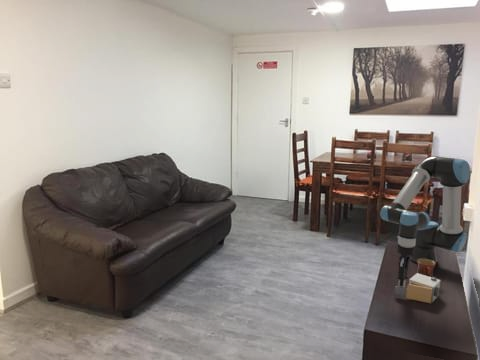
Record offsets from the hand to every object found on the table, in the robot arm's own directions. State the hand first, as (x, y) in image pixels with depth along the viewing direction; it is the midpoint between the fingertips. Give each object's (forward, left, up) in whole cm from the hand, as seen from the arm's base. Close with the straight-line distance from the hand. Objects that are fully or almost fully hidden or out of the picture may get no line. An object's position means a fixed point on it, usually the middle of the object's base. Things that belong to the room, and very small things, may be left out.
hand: (400, 291), depth 189 cm
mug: (-25, +3, -3) cm, 26 cm away
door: (-1, +6, -2) cm, 6 cm away
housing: (-9, +7, -3) cm, 12 cm away
